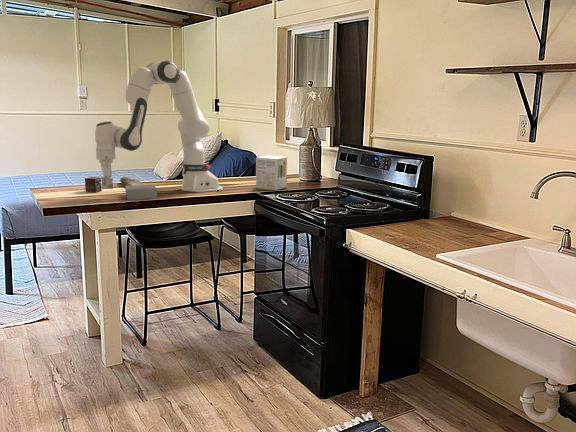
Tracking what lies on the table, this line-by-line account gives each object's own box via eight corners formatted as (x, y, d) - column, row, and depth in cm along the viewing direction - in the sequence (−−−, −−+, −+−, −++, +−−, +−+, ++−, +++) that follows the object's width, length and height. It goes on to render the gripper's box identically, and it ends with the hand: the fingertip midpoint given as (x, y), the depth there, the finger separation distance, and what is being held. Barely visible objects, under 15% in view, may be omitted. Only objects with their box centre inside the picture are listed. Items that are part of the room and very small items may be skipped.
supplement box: (276, 190, 308) (276, 158, 305) (255, 188, 314) (255, 157, 311) (287, 187, 320) (287, 156, 316) (266, 185, 326) (267, 155, 322)
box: (95, 193, 290) (95, 178, 289) (85, 192, 291) (84, 178, 290) (101, 191, 296) (101, 177, 294) (91, 190, 297) (90, 176, 296)
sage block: (112, 186, 278) (112, 176, 277) (113, 188, 273) (112, 178, 272) (101, 187, 276) (101, 177, 275) (102, 189, 271) (101, 178, 270)
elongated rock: (133, 195, 293) (151, 195, 299) (133, 185, 292) (152, 185, 297) (116, 182, 322) (133, 182, 328) (116, 173, 321) (134, 173, 326)
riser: (153, 194, 289) (153, 184, 288) (157, 198, 278) (156, 188, 277) (125, 195, 284) (125, 185, 283) (127, 199, 273) (127, 189, 272)
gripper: (114, 158, 263) (115, 187, 266) (111, 153, 281) (112, 180, 284) (99, 158, 261) (101, 187, 263) (98, 153, 279) (99, 181, 282)
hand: (107, 184), depth 274 cm, fingers closed on sage block, 5 cm apart
